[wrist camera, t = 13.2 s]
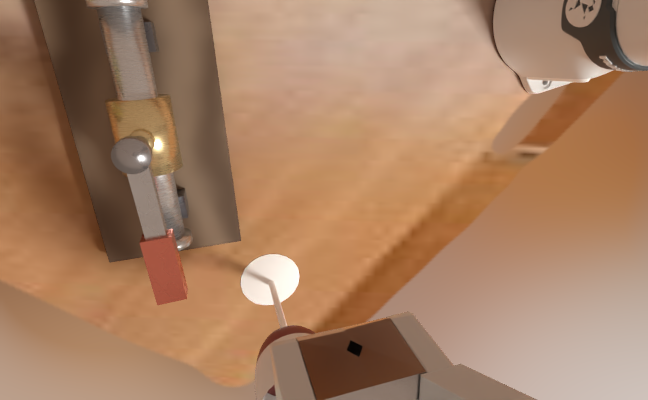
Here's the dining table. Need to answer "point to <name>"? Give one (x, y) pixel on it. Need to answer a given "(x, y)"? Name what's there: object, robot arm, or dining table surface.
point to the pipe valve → (143, 102)
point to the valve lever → (151, 220)
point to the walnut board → (171, 78)
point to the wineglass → (272, 288)
